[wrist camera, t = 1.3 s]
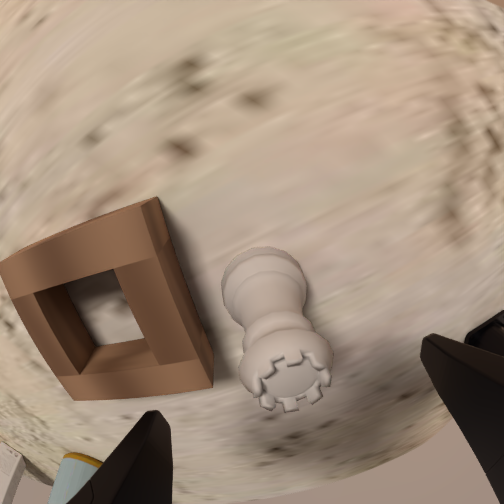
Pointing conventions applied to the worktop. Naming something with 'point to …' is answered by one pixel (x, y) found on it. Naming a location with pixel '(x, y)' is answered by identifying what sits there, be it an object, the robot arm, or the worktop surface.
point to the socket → (137, 295)
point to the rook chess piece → (275, 329)
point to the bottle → (72, 476)
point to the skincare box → (9, 472)
